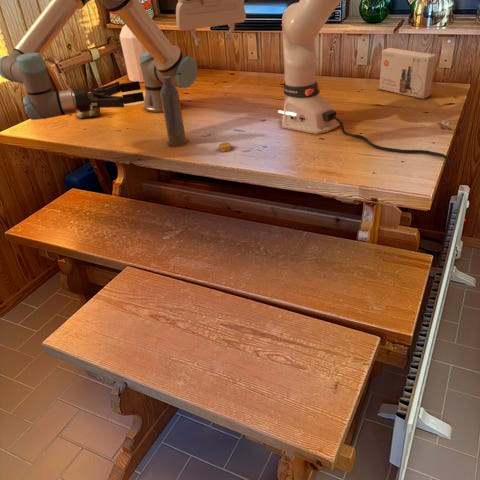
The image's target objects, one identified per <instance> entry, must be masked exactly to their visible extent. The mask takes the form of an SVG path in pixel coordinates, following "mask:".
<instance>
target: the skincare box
mask: <svg viewBox="0 0 480 480" xmlns="http://www.w3.org/2000/svg"><path fill="white" fill-rule="evenodd" d="M436 57H437V54H435V53H427V52H423V51H422V52H420V51H413V50H407V49H400V48H395V47H394V48H393V47H387V48H385V49H382V50H381V61H380V74H379V86H378V87H379V88H378V89H379V90H383V91H387V92H391V93H395V94H399V95H405V96H409V97H414V98H418V99H422V100H424V99H426V98H428V97H430V96H431V91H432V86H433V85H432V84H433V78H434V73H435V72H434V71H435V70H434V69H435V64H436Z"/></svg>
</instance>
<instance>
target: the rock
mask: <svg viewBox="0 0 480 480" xmlns="http://www.w3.org/2000/svg"><path fill="white" fill-rule="evenodd" d="M100 113H101V108H92V105H91V111H88V112H82V113H81V112H79V111H78V113H75V116H76V117H77V119H86V118H92V117H93V118H95V117H98V116H100Z"/></svg>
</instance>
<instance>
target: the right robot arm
mask: <svg viewBox="0 0 480 480" xmlns="http://www.w3.org/2000/svg"><path fill="white" fill-rule="evenodd" d="M342 1H343V0H299V1H298V2H294V3H292V4H290V5H289V6H287V7H286V9H285V10H284V11H283V14H282V17H281V23H282V24H281V30H282V47H283V49H282V50H283V67H284V68H283V69H284V82H283V89H282V90H283V94H284V103H283V110H278V113H279V114H282V116H281V120H280V121H281V128H282V129H288V130H292V131H298V132H303V133H309V134H313V135H314V134H315V135H319V134H324V133H328V132H331V131H332V130H335V129H337V128H338V127H339V126H340V130H341V132H342V133H343V134H344V135H345V136H349V137H353V138H358V139H361V140H363V141H364V142H366V144H368V145H369V146H371V147H373V148H375V149H378V150H381V151H382V150H383V151H386V152H393V153H402V154H403V153H404V154H405V153H406V154H416V153H417V154H427V155H432V156H436V157H441V158H443V159H444V160H445V161H446V162H447V163H448V165H449V166H450V167H454V163H453V162H452V160H451V159H450V157H448V156H447V155H446V154H444V153H441V152H438V151H437V152H436V151H431V150H425V149H401V148H400V149H399V148H392V147H386V146H380V145H377V144H375V143H372V142H371V141H370V140H369V139H368V138H367V137H365V136H363V135H362V134H361V135H360V134H353V133H349V132H348V131H346V130H345V128H344V123H343V122H342V120H341V119H340V118H338V117H337V110H334V109H335V108H334V106H333V105H332V104H331V103H330V102H329V101H328V100H327V99H326V98H325V97H324V96H323V95H322V94H321V93H320V90H321V89H322V86H323V85H322V84H320V85H319V84H318V81H317V55H316V54H317V53H316V37H317V36H318V34H319V32H320V31H321V30H322V28H323V27H324V25H325V24H326V23H327V22H328V20H329V18H330V17H331V16H332V14H333V13H334V11H335V10H336V8H337V7H338V5H340V3H341V2H342ZM246 18H247V16H246V8H245V0H178V2H177V3H176V7H175V21H176V27H177V28H178V30H180V31H181V32H185V31H189V33H190V34H191V36H192V38H194V42H195V46H202V38H201V37H198V36H197V35H196V33H197V30H198V29H205V28H212V27H219V26H226V25H228V28H229V29H228V32H227V33H225V40H226V41H227V42H229V41H230V42H231V41H233V33H234V31H235V28H236V24H241V23H244V22H245V21H246ZM449 203H450V204H449V209H448V215H447V220H446V226H445V229H444V234H443V239H442V242H441V246H440V251H439V257H438V261H437V268H438V269H440V268H441V265H442V260H443V255H444V250H445V247H446V242H447V239H448V234H449V229H450V225H451V220H452V215H453V209H454V203H455V202H454V201H453V202H449Z"/></svg>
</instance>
